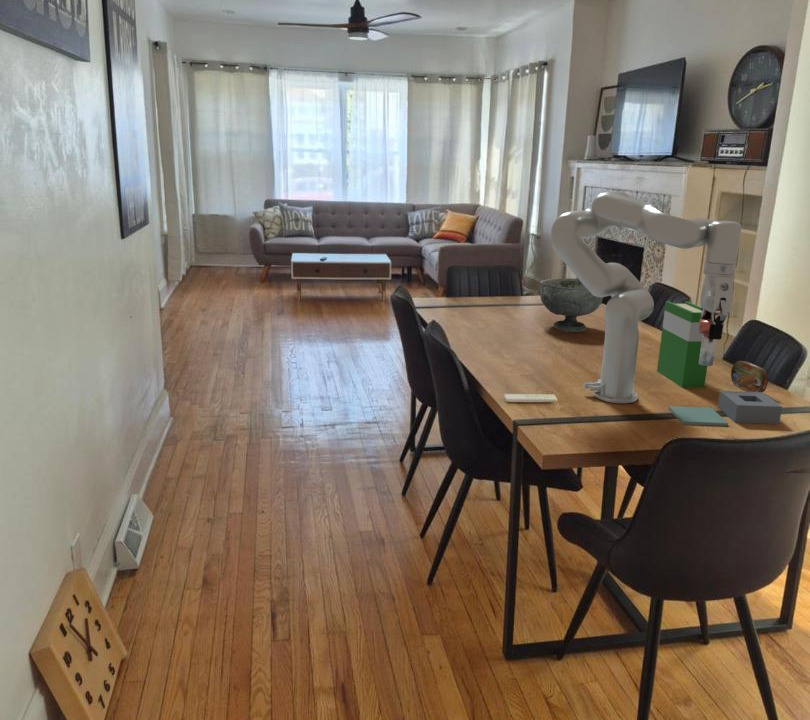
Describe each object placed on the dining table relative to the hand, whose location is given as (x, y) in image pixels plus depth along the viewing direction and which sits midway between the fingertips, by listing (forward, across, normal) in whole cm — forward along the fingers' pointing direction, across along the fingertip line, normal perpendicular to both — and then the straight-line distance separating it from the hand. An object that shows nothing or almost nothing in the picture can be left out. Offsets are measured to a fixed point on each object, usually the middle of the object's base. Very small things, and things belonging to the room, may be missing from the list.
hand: (709, 335), depth 189 cm
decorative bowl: (+23, +103, +17) cm, 107 cm away
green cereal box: (+24, +36, -7) cm, 44 cm away
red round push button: (+8, 0, 0) cm, 8 cm away
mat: (+23, 0, 0) cm, 23 cm away
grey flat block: (+23, +3, -15) cm, 28 cm away
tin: (+24, +27, -25) cm, 44 cm away
